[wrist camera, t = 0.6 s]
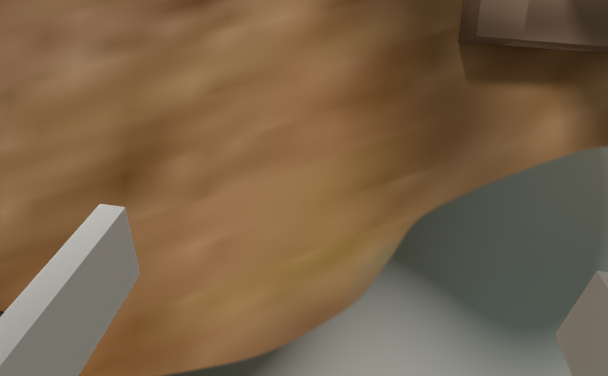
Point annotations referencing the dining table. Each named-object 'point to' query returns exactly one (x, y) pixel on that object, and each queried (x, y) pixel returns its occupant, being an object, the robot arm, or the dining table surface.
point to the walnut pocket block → (537, 24)
